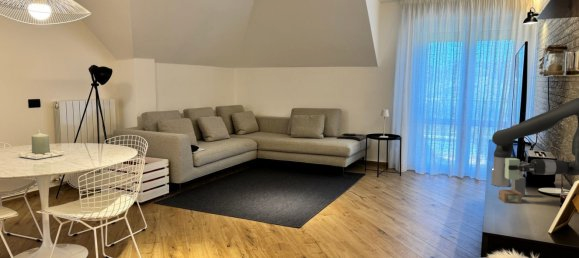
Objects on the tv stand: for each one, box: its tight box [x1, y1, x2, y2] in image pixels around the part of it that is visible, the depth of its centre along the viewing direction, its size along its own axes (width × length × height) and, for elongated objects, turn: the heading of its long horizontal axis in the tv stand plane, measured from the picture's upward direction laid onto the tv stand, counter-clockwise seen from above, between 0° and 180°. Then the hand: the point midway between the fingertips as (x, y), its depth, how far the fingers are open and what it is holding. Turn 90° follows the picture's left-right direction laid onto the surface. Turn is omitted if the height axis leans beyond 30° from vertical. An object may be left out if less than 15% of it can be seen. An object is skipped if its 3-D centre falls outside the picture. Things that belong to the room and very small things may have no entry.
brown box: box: [498, 189, 523, 204], centre depth 203 cm, size 8×8×5 cm
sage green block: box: [505, 157, 521, 181], centre depth 201 cm, size 5×5×10 cm
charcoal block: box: [510, 175, 526, 198], centre depth 213 cm, size 5×5×10 cm
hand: (506, 166), depth 201 cm, fingers closed on sage green block, 5 cm apart
